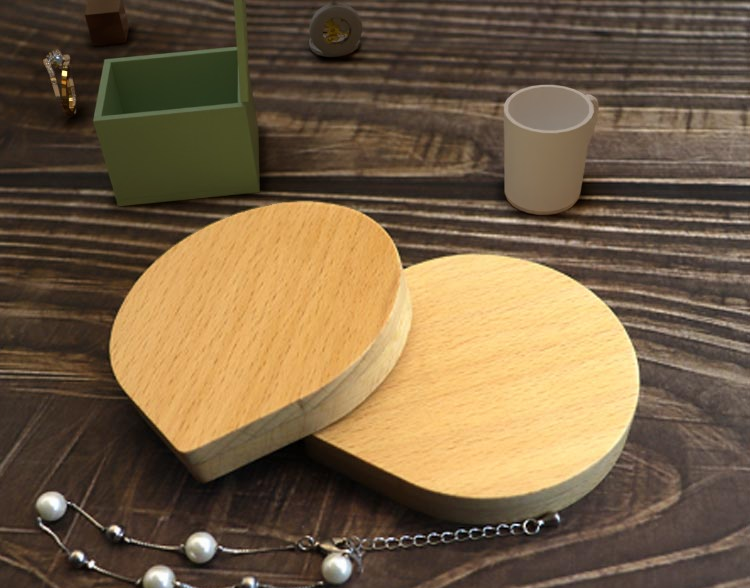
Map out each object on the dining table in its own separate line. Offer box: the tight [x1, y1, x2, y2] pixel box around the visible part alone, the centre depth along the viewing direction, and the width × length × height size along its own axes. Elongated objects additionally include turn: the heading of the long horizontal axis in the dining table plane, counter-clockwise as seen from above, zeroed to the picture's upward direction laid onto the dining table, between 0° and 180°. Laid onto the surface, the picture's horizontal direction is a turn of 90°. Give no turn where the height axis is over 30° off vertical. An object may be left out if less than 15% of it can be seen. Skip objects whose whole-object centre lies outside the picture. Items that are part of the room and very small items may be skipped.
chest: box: [92, 46, 261, 207], centre depth 112 cm, size 16×13×11 cm
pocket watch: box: [308, 0, 363, 58], centre depth 129 cm, size 8×8×10 cm
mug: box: [503, 84, 600, 216], centre depth 105 cm, size 11×9×10 cm
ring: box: [43, 48, 78, 118], centre depth 122 cm, size 7×3×8 cm, turn 2°
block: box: [84, 0, 130, 47], centre depth 137 cm, size 4×4×4 cm
